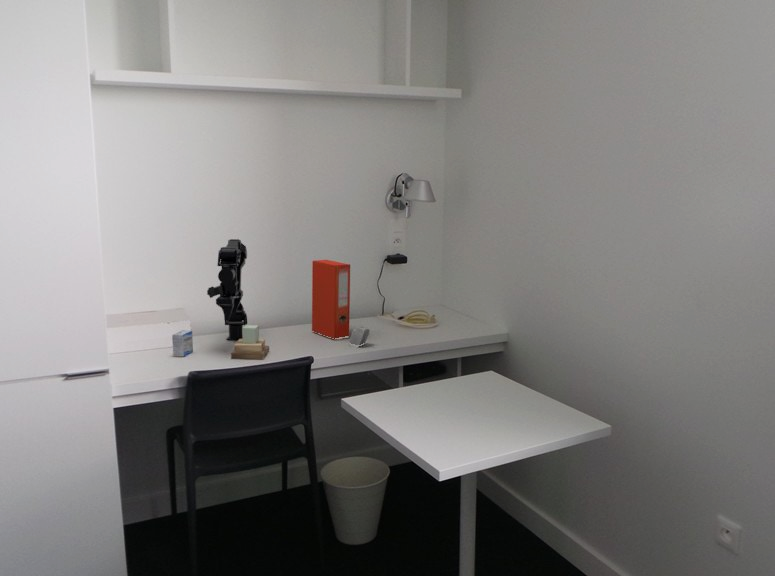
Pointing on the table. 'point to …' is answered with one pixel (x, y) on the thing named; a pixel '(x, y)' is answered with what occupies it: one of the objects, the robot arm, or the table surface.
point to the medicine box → (182, 343)
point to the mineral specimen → (359, 335)
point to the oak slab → (249, 347)
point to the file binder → (330, 298)
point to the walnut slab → (251, 355)
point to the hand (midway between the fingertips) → (230, 318)
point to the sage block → (250, 334)
